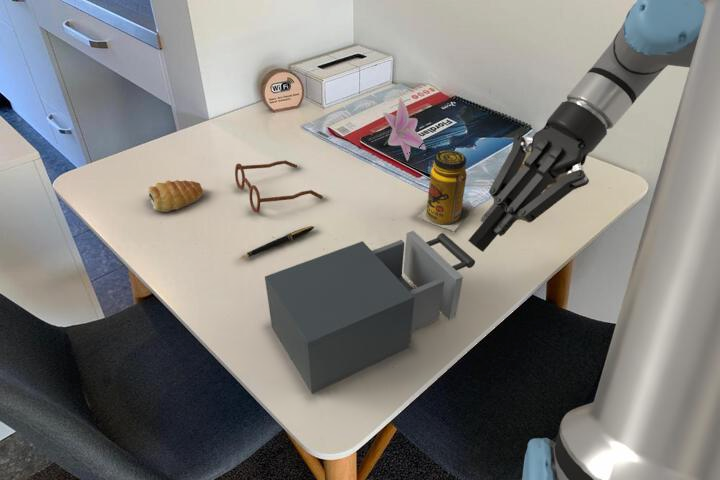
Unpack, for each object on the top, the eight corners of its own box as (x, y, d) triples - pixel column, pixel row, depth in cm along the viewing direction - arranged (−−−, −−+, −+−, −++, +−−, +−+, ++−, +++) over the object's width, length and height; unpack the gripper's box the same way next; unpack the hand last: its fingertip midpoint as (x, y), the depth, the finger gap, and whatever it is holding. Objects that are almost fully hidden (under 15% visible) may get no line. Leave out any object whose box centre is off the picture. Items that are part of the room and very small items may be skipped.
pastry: (196, 184, 101) (193, 167, 98) (209, 202, 96) (205, 184, 94) (147, 199, 97) (142, 181, 94) (157, 217, 92) (152, 200, 90)
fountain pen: (240, 263, 83) (239, 256, 82) (237, 260, 84) (236, 252, 83) (316, 231, 90) (316, 224, 89) (313, 228, 90) (312, 221, 89)
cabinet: (361, 290, 78) (362, 240, 72) (409, 347, 70) (414, 296, 64) (271, 327, 73) (264, 276, 67) (311, 394, 64) (307, 343, 58)
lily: (377, 170, 107) (402, 138, 101) (355, 128, 112) (377, 95, 106) (420, 171, 115) (445, 141, 108) (397, 131, 119) (420, 100, 113)
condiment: (416, 218, 93) (422, 159, 85) (439, 196, 98) (446, 139, 91) (453, 232, 90) (462, 172, 82) (474, 209, 95) (485, 151, 88)
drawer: (431, 261, 82) (435, 222, 78) (478, 307, 75) (487, 266, 70) (332, 301, 75) (331, 260, 71) (373, 356, 68) (375, 314, 63)
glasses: (234, 183, 101) (231, 160, 98) (297, 167, 106) (295, 145, 103) (257, 218, 92) (254, 195, 89) (324, 199, 97) (323, 176, 94)
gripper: (632, 148, 71) (516, 279, 75) (559, 111, 79) (459, 231, 83) (619, 120, 65) (495, 264, 69) (542, 84, 74) (435, 214, 78)
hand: (475, 246), depth 76 cm, fingers closed
